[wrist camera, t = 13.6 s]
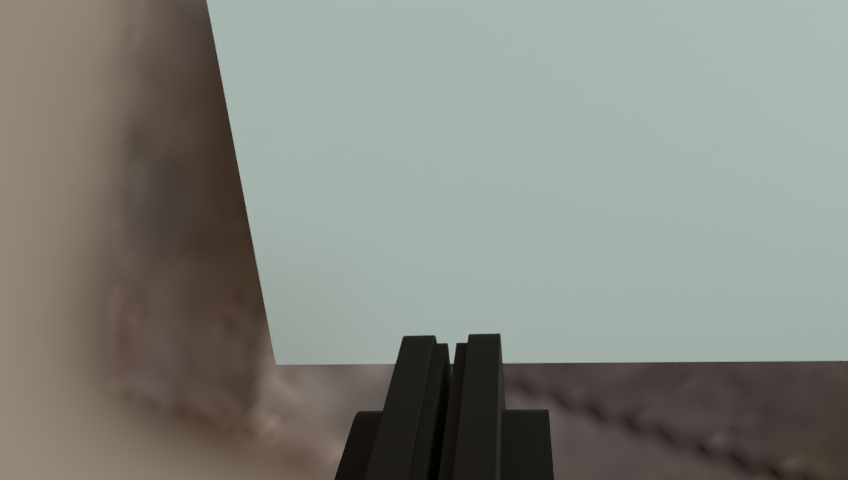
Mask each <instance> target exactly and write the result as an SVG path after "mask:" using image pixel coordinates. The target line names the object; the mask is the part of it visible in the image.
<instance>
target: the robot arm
mask: <svg viewBox="0 0 848 480" xmlns="http://www.w3.org/2000/svg"><path fill="white" fill-rule="evenodd" d="M335 480H554V475H553V462H552V449H551V436H550V423H549V411H548V410H505V395H504V379H503V363H502V347H501V335H500V333H497V334H469V335H468V343H456V350H455V357H454V365H453V372H452V378H451V368H450V358H449V348H448V344H447V343H437V340H436V336H435V335H418V336H403V338H402V342H401V346H400V349H399V353H398V357H397V360H396V364H395V368H394V372H393V375H392V379H391V383H390V387H389V390H388V394H387V398H386V402H385V405H384V409H383V411H359V412H358V413H357V414H356V416H355V418H354V421H353V424H352V427H351V430H350V433H349V436H348V439H347V442H346V445H345V449H344V452H343V455H342V458H341V461H340V464H339V467H338V470H337V473H336V476H335Z"/></svg>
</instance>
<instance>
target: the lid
mask: <svg viewBox="0 0 848 480" xmlns="http://www.w3.org/2000/svg"><path fill="white" fill-rule="evenodd" d="M207 5H208V10H209V15H210V21H211V26H212V31H213V36H214V42H215V47H216V52H217V57H218V63H219V68H220V73H221V78H222V84H223V89H224V94H225V100H226V105H227V110H228V115H229V121H230V126H231V131H232V136H233V142H234V147H235V152H236V158H237V163H238V168H239V173H240V179H241V184H242V189H243V194H244V200H245V205H246V210H247V215H248V221H249V226H250V231H251V237H252V242H253V247H254V252H255V258H256V263H257V268H258V273H259V279H260V284H261V289H262V294H263V300H264V305H265V310H266V316H267V321H268V326H269V331H270V337H271V342H272V347H273V352H274V358H275V363H276V365H321V364H396V360H397V357H398V353H399V349H400V346H401V342H402V338H403V336H418V335H435V336H436V340H437V343H447V344H448V348H449V358H450V364H454V357H455V350H456V343H468V335H469V334H497V333H500V335H501V347H502V363H603V362H744V361H848V0H207Z"/></svg>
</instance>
